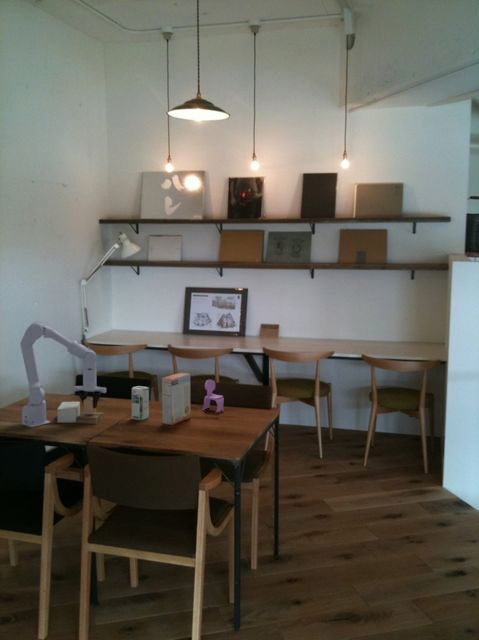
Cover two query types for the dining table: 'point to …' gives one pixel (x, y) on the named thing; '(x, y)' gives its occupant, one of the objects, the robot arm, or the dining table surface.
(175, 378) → the cracker box
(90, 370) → the robot arm
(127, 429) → the dining table surface
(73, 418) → the small box
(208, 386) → the toy chair
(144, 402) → the syrup box
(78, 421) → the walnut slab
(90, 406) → the terracotta block
